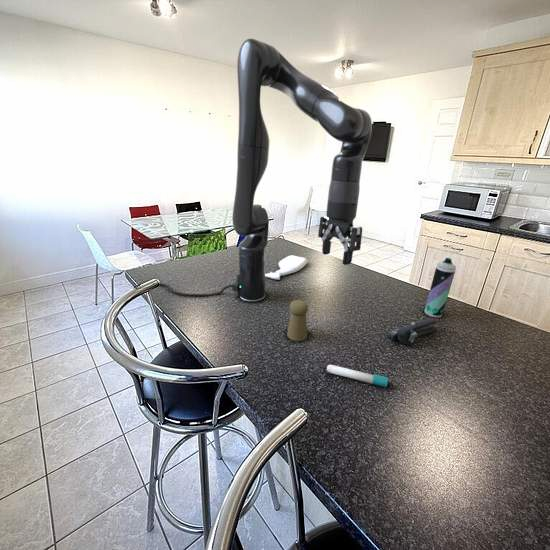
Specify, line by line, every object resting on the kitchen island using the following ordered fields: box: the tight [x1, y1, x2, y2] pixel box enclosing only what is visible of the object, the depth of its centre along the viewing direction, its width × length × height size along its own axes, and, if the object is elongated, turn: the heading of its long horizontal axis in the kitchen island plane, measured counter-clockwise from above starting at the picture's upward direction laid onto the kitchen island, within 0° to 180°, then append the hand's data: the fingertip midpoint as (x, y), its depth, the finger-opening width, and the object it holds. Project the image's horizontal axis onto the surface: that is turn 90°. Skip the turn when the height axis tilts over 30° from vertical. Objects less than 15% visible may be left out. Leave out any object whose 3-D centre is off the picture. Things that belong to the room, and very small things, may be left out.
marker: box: [326, 364, 389, 388], centre depth 70 cm, size 14×2×2 cm, turn 70°
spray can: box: [424, 257, 457, 318], centre depth 95 cm, size 6×6×20 cm
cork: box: [286, 299, 309, 342], centre depth 84 cm, size 6×6×11 cm
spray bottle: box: [265, 254, 308, 281], centre depth 130 cm, size 3×11×24 cm
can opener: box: [387, 318, 438, 346], centre depth 86 cm, size 18×7×6 cm, turn 117°
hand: (335, 258), depth 80 cm, fingers open, 8 cm apart
